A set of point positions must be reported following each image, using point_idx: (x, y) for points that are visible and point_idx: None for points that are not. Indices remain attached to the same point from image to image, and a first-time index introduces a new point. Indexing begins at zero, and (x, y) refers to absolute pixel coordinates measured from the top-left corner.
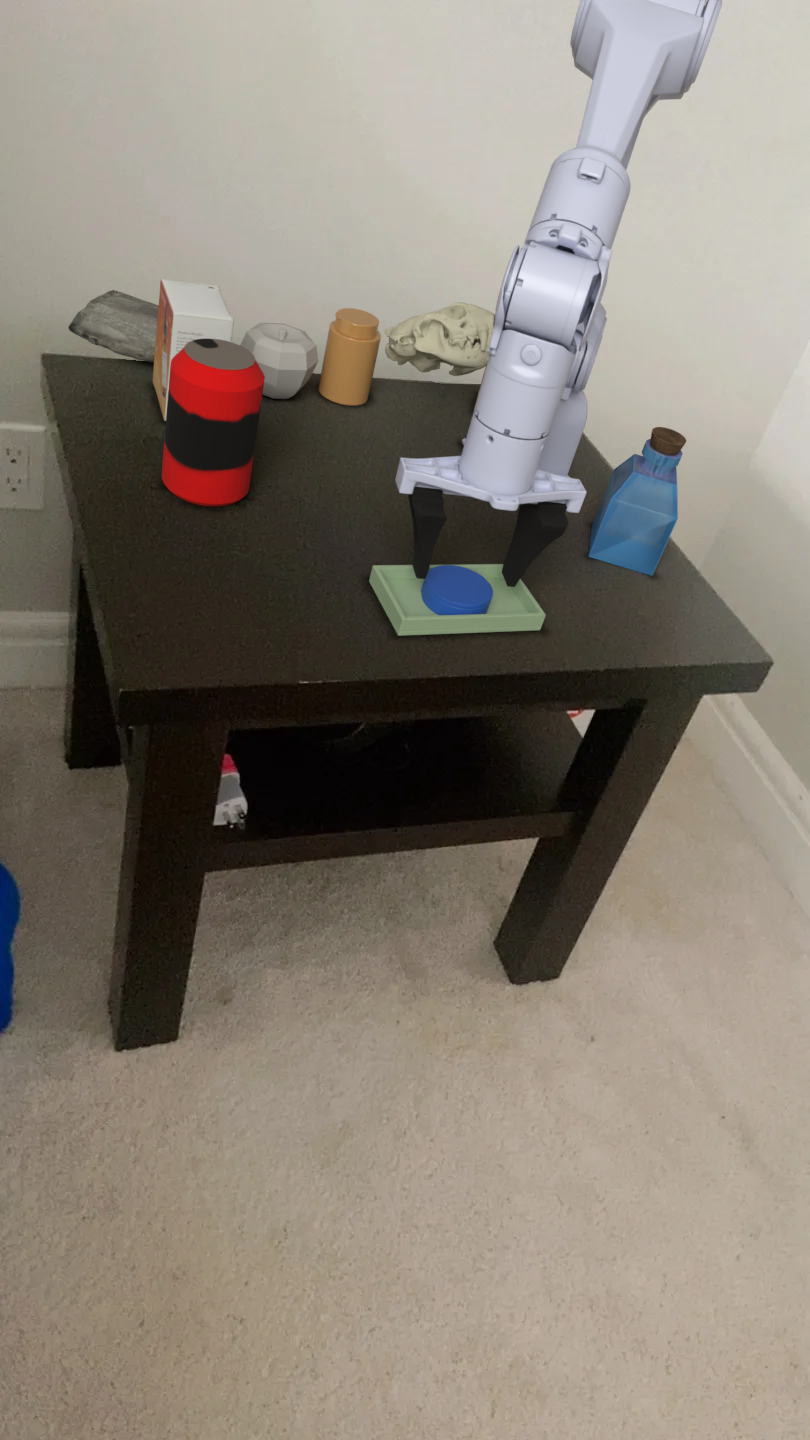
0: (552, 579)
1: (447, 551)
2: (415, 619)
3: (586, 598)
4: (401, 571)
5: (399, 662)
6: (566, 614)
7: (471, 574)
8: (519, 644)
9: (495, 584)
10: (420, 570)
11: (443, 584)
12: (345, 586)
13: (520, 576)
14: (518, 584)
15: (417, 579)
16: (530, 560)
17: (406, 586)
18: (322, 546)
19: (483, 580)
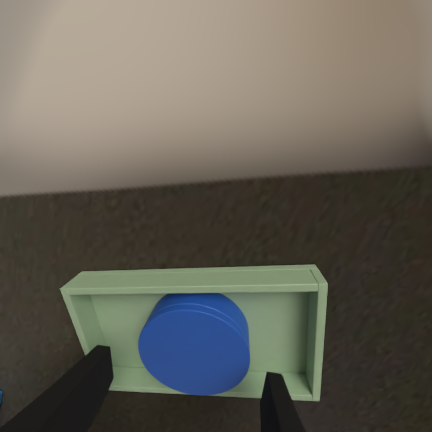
0: (51, 360)
1: (177, 410)
2: (300, 284)
3: (10, 327)
4: None
5: (341, 201)
6: (40, 300)
7: (165, 375)
8: (119, 242)
9: (128, 356)
10: (287, 394)
11: (221, 358)
12: (350, 364)
13: (74, 367)
14: None
15: None
16: (24, 415)
17: (262, 359)
18: (346, 428)
19: (148, 362)
